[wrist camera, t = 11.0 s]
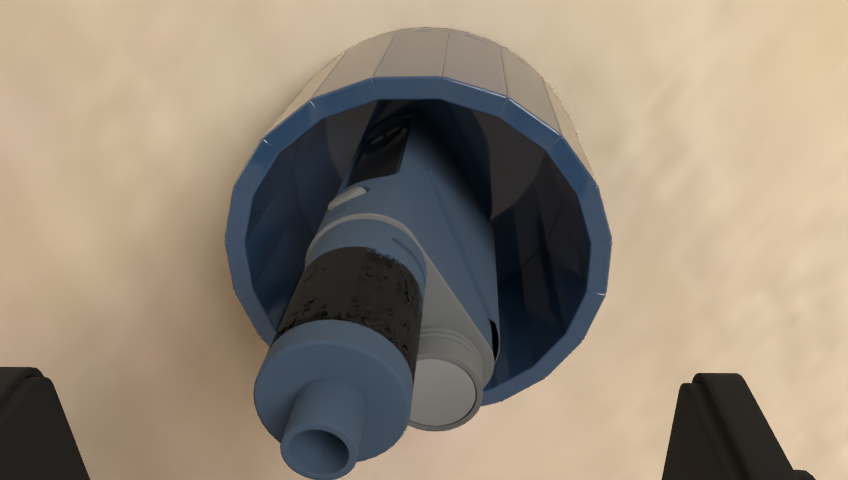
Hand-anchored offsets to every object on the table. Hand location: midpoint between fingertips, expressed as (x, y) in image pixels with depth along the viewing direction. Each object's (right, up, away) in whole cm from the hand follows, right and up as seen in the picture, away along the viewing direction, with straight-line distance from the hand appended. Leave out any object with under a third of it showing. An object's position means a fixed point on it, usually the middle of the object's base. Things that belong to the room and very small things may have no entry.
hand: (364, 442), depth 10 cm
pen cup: (+1, +5, +11) cm, 12 cm away
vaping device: (+1, +5, +10) cm, 11 cm away
